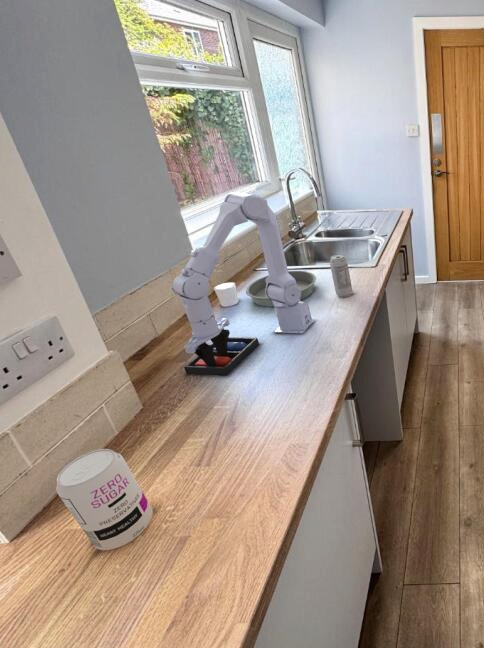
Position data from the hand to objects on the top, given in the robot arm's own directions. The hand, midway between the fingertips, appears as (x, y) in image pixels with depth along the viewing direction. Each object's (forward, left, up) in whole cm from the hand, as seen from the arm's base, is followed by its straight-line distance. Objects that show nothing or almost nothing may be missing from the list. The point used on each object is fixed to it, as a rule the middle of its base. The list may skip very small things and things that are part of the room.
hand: (217, 360), depth 111 cm
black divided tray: (+1, -4, -2) cm, 4 cm away
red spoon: (+1, 0, -1) cm, 2 cm away
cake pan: (+6, -46, -2) cm, 46 cm away
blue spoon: (+1, -7, -1) cm, 7 cm away
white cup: (+23, -38, -2) cm, 44 cm away
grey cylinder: (-18, -46, -2) cm, 49 cm away
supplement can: (-15, +45, -2) cm, 48 cm away
